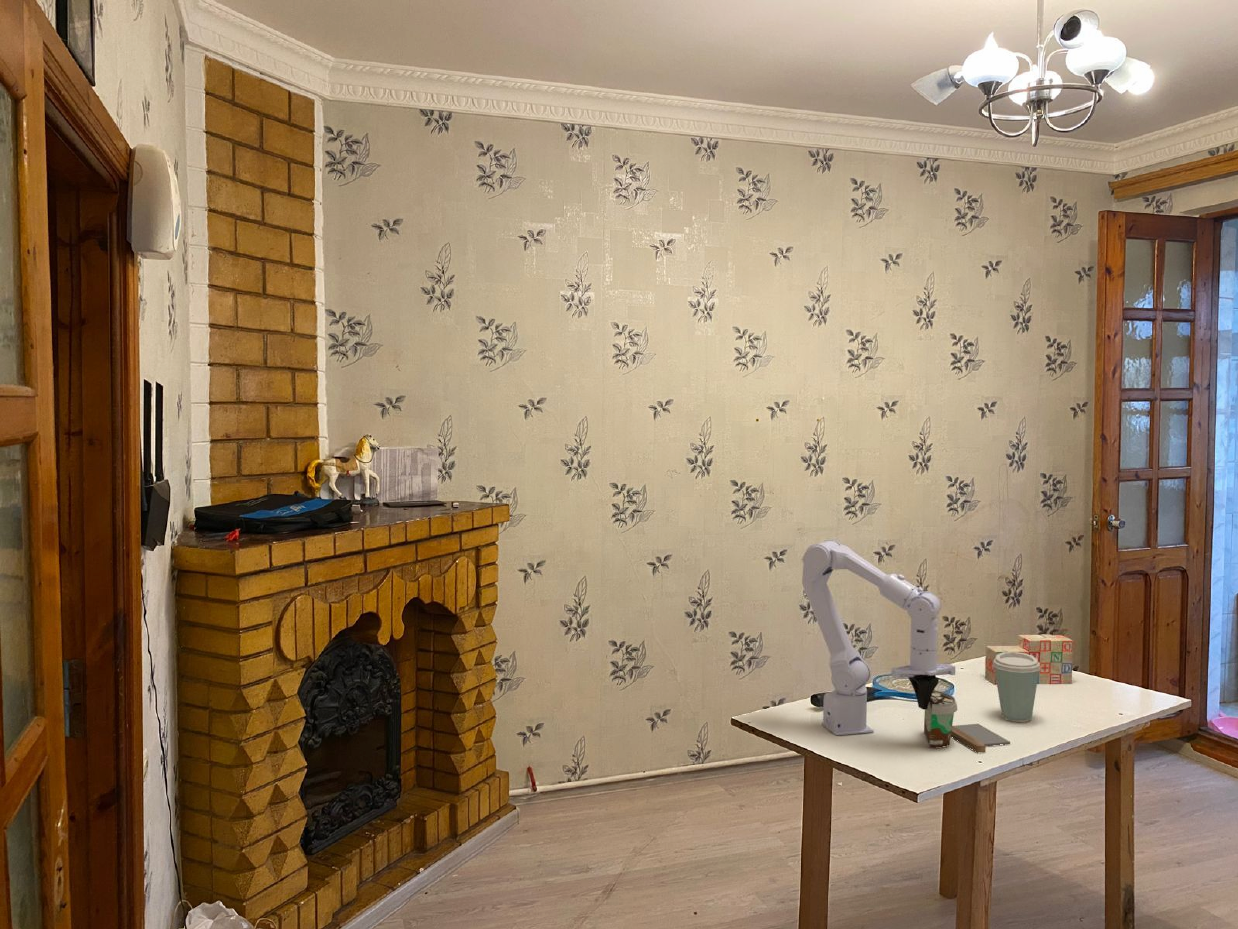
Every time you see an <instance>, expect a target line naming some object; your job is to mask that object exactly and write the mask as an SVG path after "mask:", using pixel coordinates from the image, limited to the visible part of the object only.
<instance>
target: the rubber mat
mask: <svg viewBox="0 0 1238 929" xmlns="http://www.w3.org/2000/svg"><path fill="white" fill-rule="evenodd" d="M952 726H953V727H955V728H957V729H958V730H960V731H962V732H964V733H965V734H967V735H969V736H970V737H972V738H974V739H975V740H977V741H979V742H980V743H982V744H984V745H985V746H988V747H994V746H993V745H999V746H1001V745H1000V744H1003V745H1002V746H1006V745H1005V744H1010V745H1011V741H1010V740H1008V739H1006V738H1004V737H1002V736H1000V735H999V734H997V733H995V731H994V732H993V731H992V730H990V729H988V728H986V727H985V726H983V725H981V724H979V723H971V724H957V725H952Z"/></svg>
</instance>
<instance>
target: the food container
mask: <svg viewBox="0 0 1238 929" xmlns="http://www.w3.org/2000/svg"><path fill="white" fill-rule="evenodd" d="M957 711H958V704H957V701H956V699H955V696H953V695H951V694H949V693H947V692H943V691H941V690H936V689H934V691H933V693H932V695H931V698H930V701H929V704H928V708H927V709H925V710H924V715H923V716H924V717H923V718H924V719H923V722H924V723H923V734H924V738H925V740H926V742H927V745H928V748H929V747H931V748H932V747H933V748H932V749H937V748H936V747H942V748H944V747H943V746H946V747H948V746H950V744H951V738H952V737H951V731H952V726H953V722H954V717H955V716H954V714H955V713H956V712H957ZM947 745H948V746H947Z"/></svg>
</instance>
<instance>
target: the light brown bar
mask: <svg viewBox="0 0 1238 929" xmlns="http://www.w3.org/2000/svg"><path fill="white" fill-rule="evenodd" d="M953 726H954V725H952V731H951V738H952V737H953V738H954V740H955V739H956V740H955V741H957V740H958V741H959V742H958V741H957V742H958V743H959V744H961V745H963V744H964V746H965V747H966V746H968V747H969V748H968V747H967V748H968V749H970V748H971V749H973V750H974V751H976V752H977V753H976V752H975V753H976V754H979V753H978V752H985V753H986V749H987V748H986V746H985V745H984V744H982V743H980V742H979V741H977V740H975V739H974V738H972V737H970V736H969V735H967V734H965V733H964V732H962V731H960V730H958V729H957V728H955V727H953ZM953 738H952V739H953ZM971 749H970V750H971ZM973 750H972V751H973ZM974 751H973V752H974Z"/></svg>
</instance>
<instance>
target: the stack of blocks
mask: <svg viewBox="0 0 1238 929" xmlns="http://www.w3.org/2000/svg"><path fill="white" fill-rule="evenodd" d="M1073 650H1074V640H1073V639H1071V638H1068V637H1067V636H1064V635H1061V634H1018V636H1017V645H986V646H985V660H984V664H985V665H984V666H985V668H984V670H985V671H984V679H986V680H987V681H988V682H990V683H991V684H993V685H995V686H997V681H996V675H995V669H994V666H993V661H994V659H995V658H996V655H998V654H1000V653H1003V652H1017V653H1025V654H1028V655H1031V656H1033V657H1035V658H1036V659H1037V660H1038V662H1039V663H1040V667H1041V668H1040V670H1039V675H1038V681H1037V685H1072V684H1073V682H1072V681H1073V661H1074V651H1073Z"/></svg>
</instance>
